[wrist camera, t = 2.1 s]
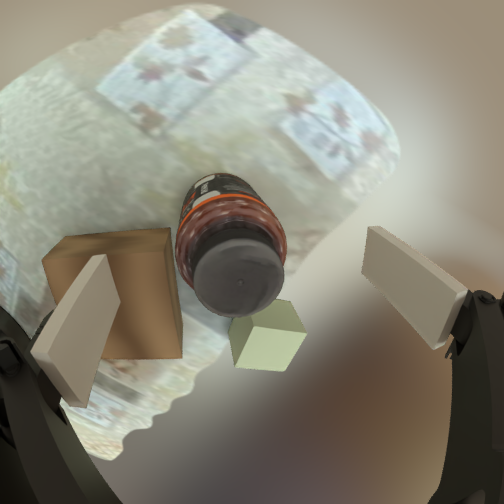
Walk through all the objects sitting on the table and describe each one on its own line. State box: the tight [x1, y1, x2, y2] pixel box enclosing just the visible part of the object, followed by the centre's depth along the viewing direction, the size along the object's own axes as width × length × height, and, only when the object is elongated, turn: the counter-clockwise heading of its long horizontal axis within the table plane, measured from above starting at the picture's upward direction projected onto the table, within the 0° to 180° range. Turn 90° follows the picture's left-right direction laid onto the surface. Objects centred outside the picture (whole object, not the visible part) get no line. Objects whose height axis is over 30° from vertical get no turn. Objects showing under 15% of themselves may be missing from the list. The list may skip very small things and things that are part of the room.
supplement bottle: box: [175, 173, 287, 318], centre depth 16 cm, size 6×6×11 cm
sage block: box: [228, 299, 307, 371], centre depth 25 cm, size 5×5×5 cm
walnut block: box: [42, 228, 183, 359], centre depth 21 cm, size 10×10×5 cm
